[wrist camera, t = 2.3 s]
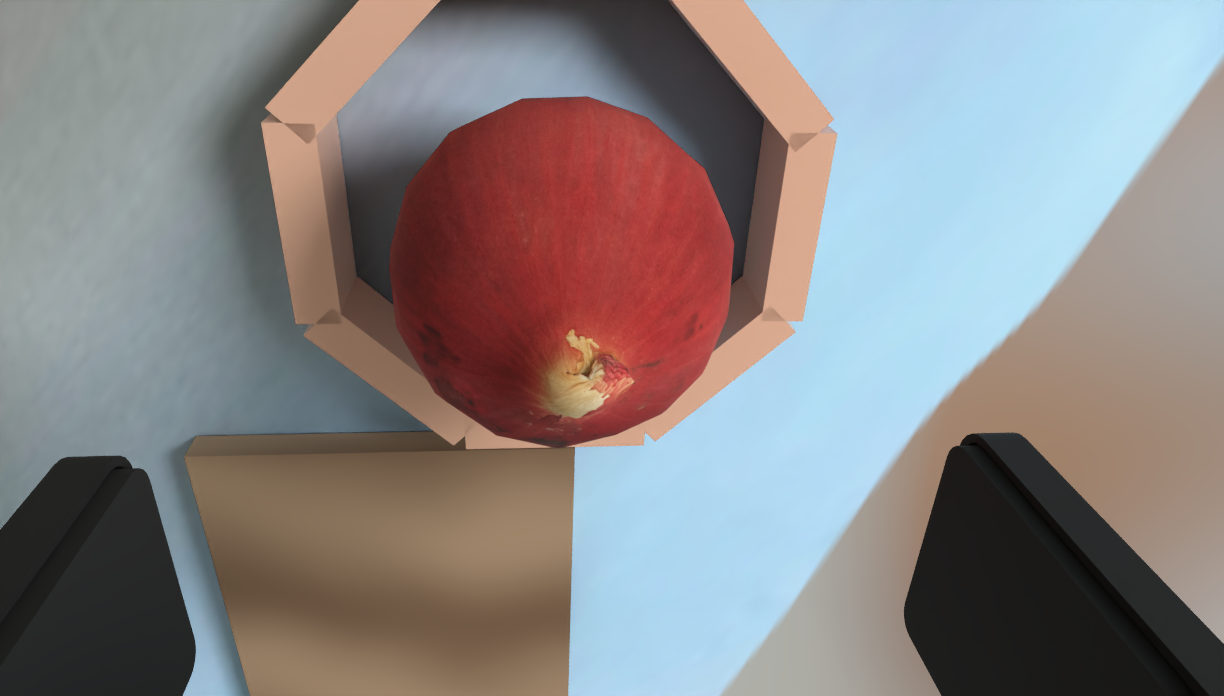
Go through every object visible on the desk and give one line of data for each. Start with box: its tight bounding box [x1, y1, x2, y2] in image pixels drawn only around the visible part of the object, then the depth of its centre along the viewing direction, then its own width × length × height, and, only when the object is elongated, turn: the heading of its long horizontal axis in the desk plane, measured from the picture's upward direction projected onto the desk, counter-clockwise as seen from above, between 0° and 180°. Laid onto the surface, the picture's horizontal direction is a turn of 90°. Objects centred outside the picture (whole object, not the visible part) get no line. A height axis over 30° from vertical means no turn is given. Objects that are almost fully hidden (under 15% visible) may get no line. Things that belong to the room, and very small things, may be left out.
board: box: [184, 431, 575, 696], centre depth 22 cm, size 10×9×1 cm
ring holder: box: [261, 0, 837, 449], centre depth 16 cm, size 10×10×2 cm
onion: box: [389, 97, 734, 449], centre depth 14 cm, size 6×6×8 cm
